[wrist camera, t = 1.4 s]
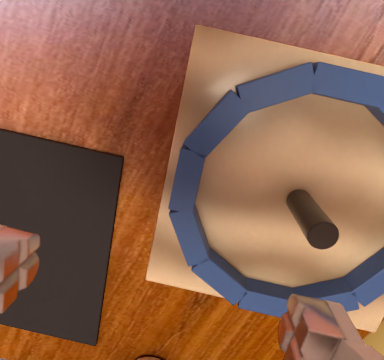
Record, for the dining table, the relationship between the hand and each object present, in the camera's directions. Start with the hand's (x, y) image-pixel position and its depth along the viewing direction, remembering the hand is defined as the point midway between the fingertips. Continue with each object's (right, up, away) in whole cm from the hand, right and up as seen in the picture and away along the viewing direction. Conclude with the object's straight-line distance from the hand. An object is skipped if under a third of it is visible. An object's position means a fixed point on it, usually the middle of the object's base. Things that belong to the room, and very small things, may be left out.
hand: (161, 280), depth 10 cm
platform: (+8, +3, +14) cm, 17 cm away
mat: (-16, -2, +18) cm, 24 cm away
